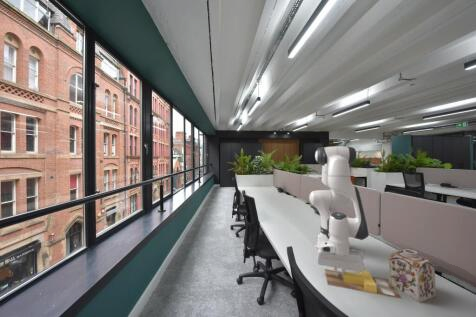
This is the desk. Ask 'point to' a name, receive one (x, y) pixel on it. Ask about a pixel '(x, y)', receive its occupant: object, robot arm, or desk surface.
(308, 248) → the desk surface
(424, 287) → the decorative jar
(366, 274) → the t block
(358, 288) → the board
